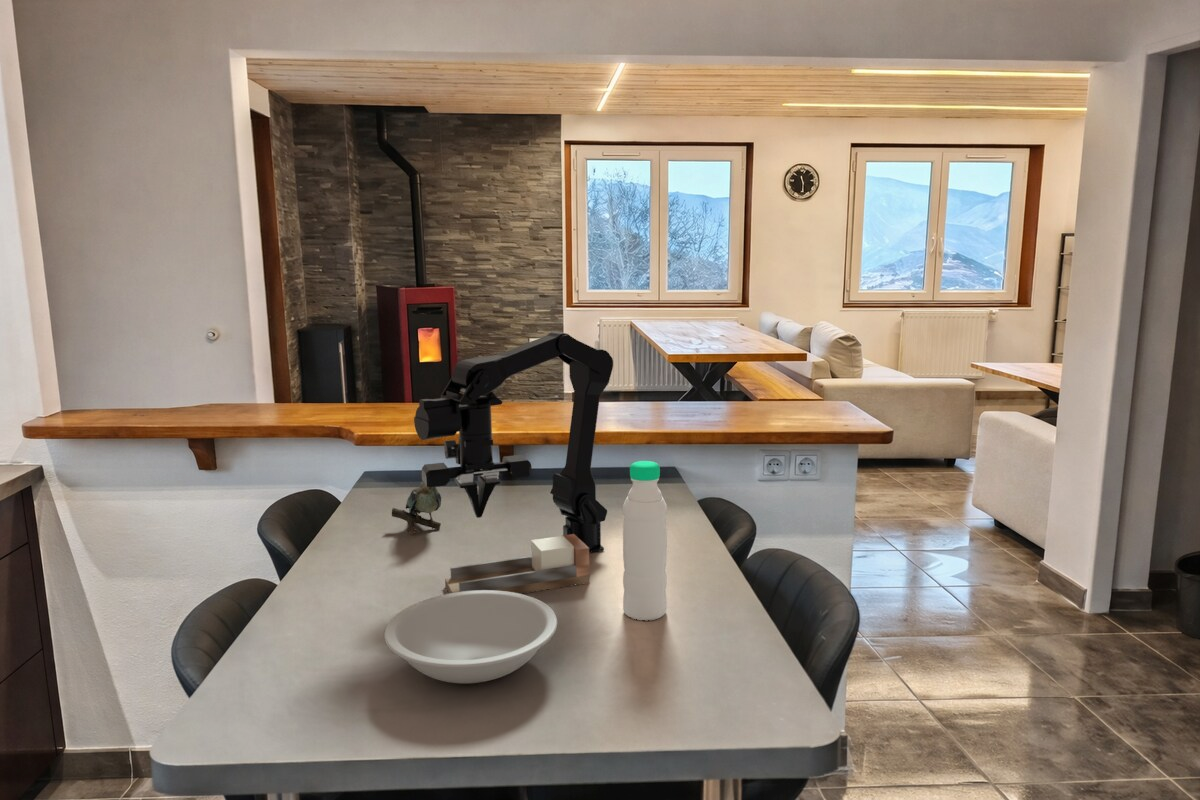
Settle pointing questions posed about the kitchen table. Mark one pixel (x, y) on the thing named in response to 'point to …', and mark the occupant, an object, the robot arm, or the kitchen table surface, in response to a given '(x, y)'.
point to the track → (520, 573)
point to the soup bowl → (471, 634)
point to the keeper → (551, 553)
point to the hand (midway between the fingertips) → (478, 516)
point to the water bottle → (644, 545)
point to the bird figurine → (420, 507)
